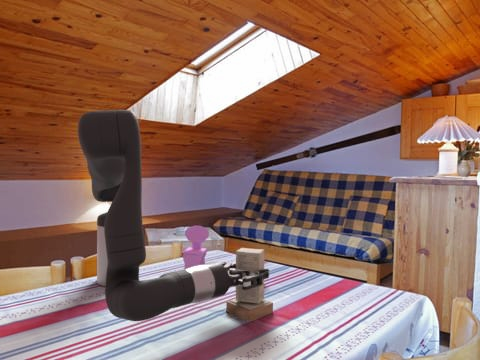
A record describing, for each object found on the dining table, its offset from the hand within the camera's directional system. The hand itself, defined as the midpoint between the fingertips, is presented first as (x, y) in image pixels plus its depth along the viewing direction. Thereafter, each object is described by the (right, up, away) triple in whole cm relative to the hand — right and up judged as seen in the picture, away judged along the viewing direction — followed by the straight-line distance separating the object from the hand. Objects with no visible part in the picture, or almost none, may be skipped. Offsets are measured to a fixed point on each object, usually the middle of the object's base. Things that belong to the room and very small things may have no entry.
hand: (256, 269), depth 91 cm
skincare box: (-2, -7, -1) cm, 8 cm away
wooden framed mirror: (-2, -10, -1) cm, 10 cm away
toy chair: (-19, -9, +32) cm, 38 cm away
